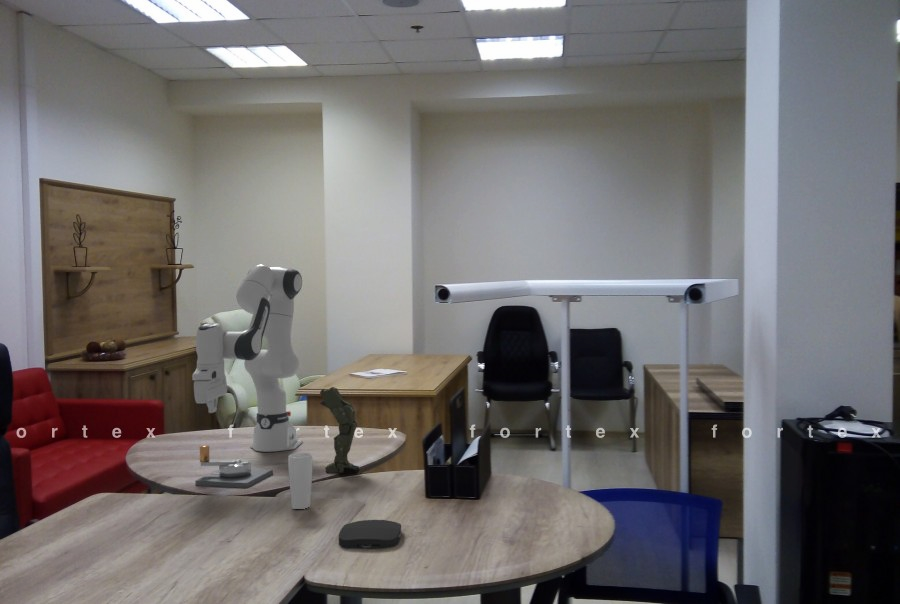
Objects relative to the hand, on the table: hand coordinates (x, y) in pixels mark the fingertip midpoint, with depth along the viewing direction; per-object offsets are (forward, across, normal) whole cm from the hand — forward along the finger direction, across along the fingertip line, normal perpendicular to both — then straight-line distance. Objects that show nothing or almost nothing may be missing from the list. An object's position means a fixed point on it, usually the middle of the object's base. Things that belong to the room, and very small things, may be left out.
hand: (212, 412), depth 246 cm
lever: (+19, +8, +6) cm, 22 cm away
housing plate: (+21, +8, +10) cm, 24 cm away
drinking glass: (+21, +39, +40) cm, 59 cm away
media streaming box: (+21, +65, +63) cm, 93 cm away
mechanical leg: (+22, -4, +42) cm, 48 cm away
